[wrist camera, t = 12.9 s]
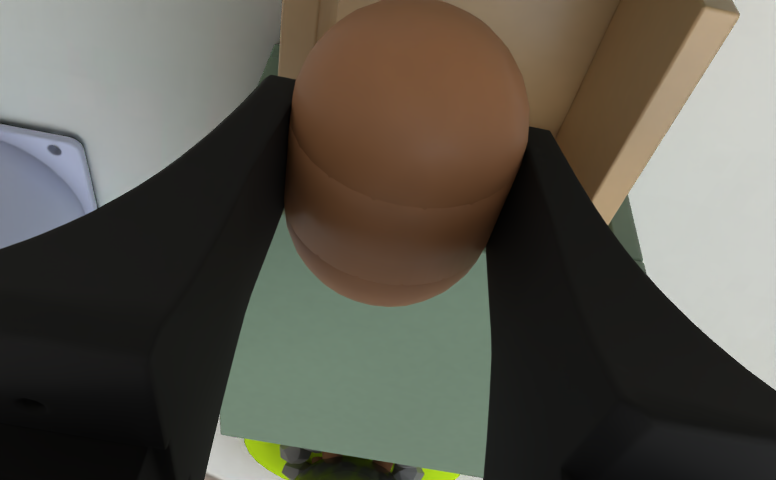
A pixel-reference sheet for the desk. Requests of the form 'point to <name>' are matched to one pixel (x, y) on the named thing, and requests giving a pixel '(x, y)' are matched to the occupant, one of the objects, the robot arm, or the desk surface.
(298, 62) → the drawer
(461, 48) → the egg
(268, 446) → the toy cauldron
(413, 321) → the cabinet
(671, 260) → the desk surface
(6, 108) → the desk surface
